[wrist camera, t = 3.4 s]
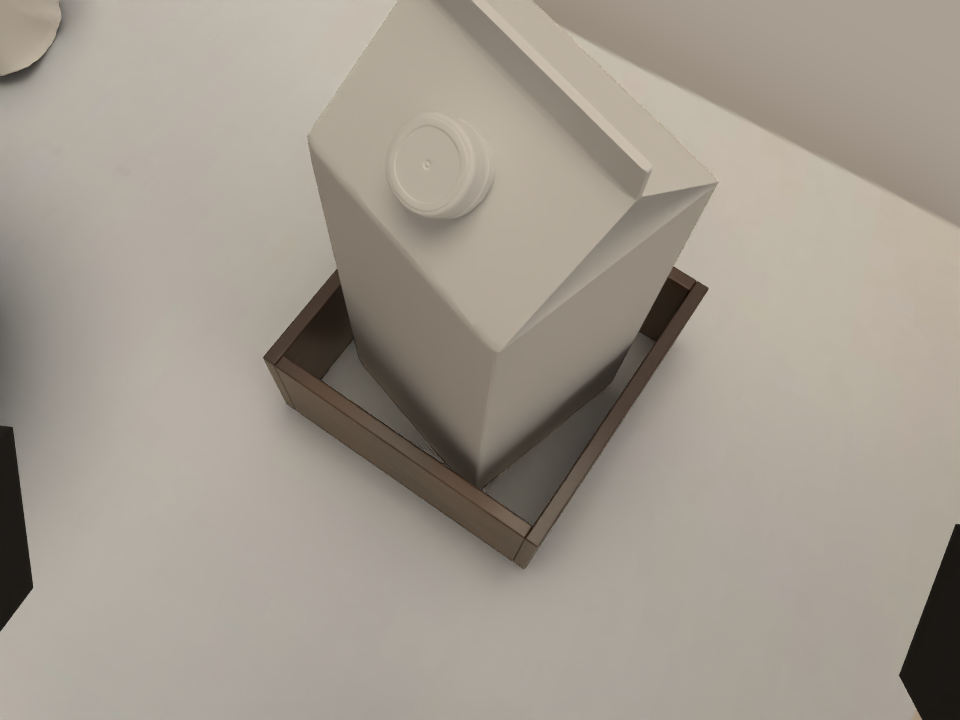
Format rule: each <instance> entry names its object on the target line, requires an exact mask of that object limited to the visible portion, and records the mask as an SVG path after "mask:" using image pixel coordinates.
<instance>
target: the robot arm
mask: <svg viewBox="0 0 960 720" xmlns="http://www.w3.org/2000/svg"><path fill="white" fill-rule="evenodd" d="M32 589H33V582H32V574H31V566H30V558H29V551H28V543H27V535H26V527H25V519H24V512H23V504H22V496H21V488H20V480H19V472H18V465H17V457H16V449H15V441H14V433H13V427H8V426H0V631H1V630H2V629H3V627H4V626H5V625H6V623H7V622H8V621H9V619H10V618H11V617H12V615H13V614H14V613H15V611H16V610H17V609H18V607H19V606H20V605H21V603H22V602H23V601H24V599H25V598H26V597H27V595H28V594H29V593H30V591H31V590H32ZM899 676H900V678H901V680H902V682H903V684H904V686H905V688H906V690H907V692H908V694H909V695H910V697H911V699H912V701H913V703H914V705H915V707H916V709H917V711H918V713H919V714H920V716H921V718H922V720H960V524H956V525H955V527H954V530H953V533H952V535H951V538H950V541H949V543H948V546H947V549H946V551H945V554H944V557H943V559H942V562H941V565H940V567H939V570H938V573H937V575H936V578H935V581H934V583H933V586H932V589H931V591H930V594H929V597H928V599H927V602H926V605H925V607H924V610H923V613H922V615H921V618H920V621H919V623H918V626H917V629H916V632H915V634H914V637H913V640H912V642H911V645H910V648H909V650H908V653H907V656H906V658H905V661H904V664H903V666H902V669H901V672H900V674H899Z"/></svg>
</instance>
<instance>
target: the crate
mask: <svg viewBox="0 0 960 720" xmlns="http://www.w3.org/2000/svg"><path fill="white" fill-rule="evenodd" d="M708 289H709V288H708V287H706V286H705V285H703V284H701V283H700V282H698V281H697V282H696V280H695V279H693V278H691V277H690V276H688V275H687V274H685V273H683V272H682V271H680V270H678V269H677V268H675V267H673V268H672V270H671V272H670V273H669V275H668V277H667V279H666V281H665V283H664V285H663V287H662V288H661V290H660V292H659V294H658V296H657V298H656V300H655V302H654V303H653V305H652V307H651V309H650V311H649V313H648V315H647V317H646V318H645V320H644V322H643V324H642V326H641V328H640V330H639V331H641V332H642V333H644V334H646V335H647V336H649V337H650V338H652V339H654V340H655V341H656V343H655V344H654V346H653V347H652V349H651V350H650V352H649V353H648V355H647V356H646V358H645V359H644V361H643V362H642V364H641V365H640V367H639V368H638V370H637V371H636V373H635V374H634V376H633V377H632V379H631V380H630V382H629V383H628V385H627V386H626V388H625V389H624V391H623V392H622V394H621V395H620V397H619V398H618V400H617V401H616V403H615V404H614V406H613V407H612V409H611V410H610V412H609V413H608V415H607V416H606V418H605V419H604V421H603V422H602V424H601V425H600V427H599V428H598V430H597V431H596V433H595V434H594V436H593V437H592V439H591V440H590V442H589V443H588V445H587V446H586V448H585V449H584V451H583V452H582V454H581V455H580V457H579V458H578V460H577V461H576V463H575V464H574V466H573V467H572V469H571V470H570V472H569V473H568V475H567V476H566V478H565V479H564V481H563V482H562V484H561V485H560V487H559V488H558V490H557V491H556V493H555V494H554V496H553V497H552V499H551V500H550V502H549V503H548V505H547V506H546V508H545V509H544V511H543V512H542V514H541V515H540V517H539V518H538V520H537V521H536V523H535V524H534V526H533V527H532V525H531V524H529V523H528V522H526V521H525V520H523V519H522V518H521V517H519V516H518V515H516V514H515V513H513V512H512V511H510V510H509V509H507V508H506V507H505V506H503V505H502V504H500V503H499V502H497V501H496V500H494V499H493V498H491V497H490V496H489V495H487V494H486V493H484V492H483V491H481V490H480V489H478V488H477V487H475V486H474V485H472V484H471V483H470V482H468V481H467V480H465V479H464V478H462V477H461V476H459V475H458V474H456V473H455V472H454V471H452V470H451V469H449V468H448V467H446V466H445V465H443V464H442V463H440V462H439V461H438V460H436V459H435V458H433V457H432V456H430V455H429V454H427V453H426V452H424V451H423V450H422V449H420V448H419V447H417V446H416V445H414V444H413V443H411V442H410V441H408V440H407V439H406V438H404V437H403V436H401V435H400V434H398V433H397V432H395V431H394V430H392V429H391V428H389V427H388V426H387V425H385V424H384V423H382V422H381V421H379V420H378V419H376V418H375V417H373V416H372V415H371V414H369V413H368V412H366V411H365V410H363V409H362V408H360V407H359V406H357V405H356V404H355V403H353V402H352V401H350V400H349V399H347V398H346V397H344V396H343V395H341V394H340V393H339V392H337V391H336V390H334V389H333V388H331V387H330V386H328V385H327V384H325V383H324V382H323V381H321V380H320V379H321V378H322V377H323V375H324V374H325V373H326V372H327V370H328V369H329V368H330V367H331V366H332V364H333V363H334V362H335V361H336V359H337V358H338V357H339V356H340V354H341V353H342V352H343V351H344V349H345V348H346V347H347V346H348V344H349V343H350V342H351V341H352V339H353V338H354V336H353V332H352V328H351V324H350V320H349V316H348V311H347V307H346V303H345V299H344V295H343V291H342V286H341V282H340V278H339V274H338V270H337V269H336V271H335V272H334V273H333V274H332V275H331V277H330V278H329V279H328V280H327V281H326V283H325V284H324V285H323V286H322V287H321V289H320V290H319V291H318V292H317V293H316V295H315V296H314V297H313V298H312V299H311V301H310V302H309V303H308V304H307V305H306V307H305V308H304V309H303V310H302V311H301V313H300V314H299V315H298V316H297V317H296V318H295V320H294V321H293V322H292V323H291V324H290V326H289V327H288V328H287V329H286V330H285V332H284V333H283V334H282V335H281V336H280V338H279V339H278V340H277V341H276V342H275V344H274V345H273V346H272V347H271V348H270V350H269V351H268V352H267V353H266V354H265V356H264V357H263V359H264V361H265V363H266V365H267V367H268V369H269V370H270V372H271V374H272V376H273V378H274V380H275V382H276V384H277V386H278V388H279V390H280V392H281V394H282V396H283V398H284V400H285V402H286V403H287V404H288V405H289V406H291V407H292V408H294V409H296V410H297V411H298V412H299V413H301V414H302V415H304V416H305V417H306V418H308V419H309V420H311V421H312V422H314V423H315V424H316V425H318V426H319V427H321V428H322V429H324V430H325V431H327V432H328V433H329V434H331V435H332V436H334V437H335V438H337V439H338V440H339V441H341V442H342V443H344V444H345V445H347V446H348V447H349V448H351V449H352V450H354V451H355V452H357V453H358V454H359V455H361V456H362V457H364V458H365V459H367V460H368V461H370V462H371V463H372V464H374V465H375V466H377V467H378V468H380V469H381V470H382V471H384V472H385V473H387V474H388V475H390V476H391V477H392V478H394V479H395V480H397V481H398V482H400V483H401V484H402V485H404V486H405V487H407V488H408V489H410V490H411V491H413V492H414V493H415V494H417V495H418V496H420V497H421V498H423V499H424V500H425V501H427V502H428V503H430V504H431V505H433V506H434V507H435V508H437V509H438V510H440V511H441V512H443V513H444V514H446V515H447V516H448V517H450V518H451V519H453V520H454V521H456V522H457V523H458V524H460V525H461V526H463V527H464V528H466V529H467V530H468V531H470V532H471V533H473V534H474V535H476V536H477V537H478V538H480V539H481V540H483V541H484V542H486V543H487V544H489V545H490V546H491V547H493V548H494V549H496V550H497V551H499V552H500V553H501V554H503V555H504V556H506V557H507V558H509V559H510V560H511V561H513V560H514V563H516V564H517V565H519V566H520V567H521V568H523V569H525V568H526V566H527V565H528V563H529V562H530V560H531V559H532V557H533V555H534V554H535V552H536V551H537V549H538V548H539V546H540V545H541V543H542V542H543V540H544V539H545V537H546V536H547V534H548V533H549V531H550V530H551V528H552V527H553V525H554V524H555V522H556V521H557V519H558V518H559V516H560V515H561V513H562V512H563V510H564V509H565V507H566V505H567V504H568V502H569V501H570V499H571V498H572V496H573V495H574V493H575V492H576V490H577V489H578V487H579V486H580V484H581V483H582V481H583V480H584V478H585V477H586V475H587V474H588V472H589V471H590V469H591V468H592V466H593V465H594V463H595V462H596V460H597V458H598V457H599V455H600V454H601V452H602V451H603V449H604V448H605V446H606V445H607V443H608V442H609V440H610V439H611V437H612V436H613V434H614V433H615V431H616V430H617V428H618V427H619V425H620V424H621V422H622V421H623V419H624V418H625V416H626V415H627V413H628V411H629V410H630V408H631V407H632V405H633V404H634V402H635V401H636V399H637V398H638V396H639V395H640V393H641V392H642V390H643V389H644V387H645V386H646V384H647V383H648V381H649V380H650V378H651V377H652V375H653V374H654V372H655V371H656V369H657V368H658V366H659V364H660V363H661V361H662V360H663V358H664V357H665V355H666V354H667V352H668V351H669V349H670V348H671V346H672V345H673V343H674V342H675V340H676V339H677V337H678V336H679V334H680V333H681V331H682V329H683V328H684V326H685V325H686V323H687V322H688V320H689V319H690V317H691V316H692V314H693V313H694V311H695V309H696V308H697V306H698V305H699V303H700V302H701V300H702V299H703V297H704V296H705V294H706V292H707V291H708Z"/></svg>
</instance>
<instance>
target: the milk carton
mask: <svg viewBox="0 0 960 720" xmlns="http://www.w3.org/2000/svg"><path fill="white" fill-rule="evenodd" d="M307 137H308V144H309V150H310V156H311V161H312V165H313V170H314V174H315V178H316V182H317V186H318V191H319V195H320V199H321V203H322V207H323V211H324V216H325V220H326V224H327V228H328V232H329V236H330V241H331V245H332V249H333V253H334V257H335V261H336V266H337V270H338V274H339V278H340V282H341V286H342V291H343V295H344V299H345V303H346V307H347V311H348V316H349V320H350V324H351V328H352V332H353V336H354V341H355V345H356V349H357V353H358V357H359V359H360V360H361V362H362V363H363V365H364V366H365V367H366V368H367V370H368V371H369V372H370V373H371V374H372V376H373V377H374V378H375V379H376V380H377V382H378V383H379V384H380V385H381V386H382V388H383V389H384V390H385V391H386V392H387V394H388V395H389V396H390V397H391V398H392V400H393V401H394V402H395V403H396V404H397V406H398V407H399V408H400V409H401V410H402V411H403V413H404V414H405V415H406V416H407V417H408V419H409V420H410V421H411V422H412V423H413V425H414V426H415V427H416V428H417V429H418V431H419V432H420V433H421V434H422V435H423V437H424V438H425V439H426V440H427V441H428V443H429V444H430V445H431V446H432V447H433V448H434V450H435V451H436V452H437V453H438V454H439V456H440V457H441V458H442V459H443V460H444V462H445V463H446V464H447V465H448V466H449V468H450V469H451V470H452V471H454V472H455V473H456V474H458V475H459V476H461V477H462V478H464V479H465V480H467V481H468V482H470V483H471V484H472V485H474V486H475V487H477V488H478V489H482V488H483V487H484V486H485V485H486V484H488V483H489V482H490V481H491V480H493V479H494V478H495V477H496V476H497V475H499V474H500V473H501V472H502V471H504V470H505V469H506V468H507V467H508V466H510V465H511V464H512V463H513V462H515V461H516V460H517V459H518V458H519V457H521V456H522V455H523V454H524V453H526V452H527V451H528V450H529V449H530V448H532V447H533V446H534V445H535V444H537V443H538V442H539V441H540V440H541V439H543V438H544V437H545V436H546V435H548V434H549V433H550V432H551V431H552V430H554V429H555V428H556V427H557V426H559V425H560V424H561V423H562V422H563V421H565V420H566V419H567V418H568V417H570V416H571V415H572V414H573V413H574V412H576V411H577V410H578V409H579V408H581V407H582V406H583V405H584V404H585V403H587V402H588V401H589V400H590V399H592V398H593V397H594V396H595V395H596V394H598V393H599V392H600V391H601V390H603V389H604V388H605V387H606V386H607V385H609V384H610V383H611V382H612V380H613V378H614V377H615V375H616V373H617V371H618V369H619V367H620V365H621V363H622V362H623V360H624V358H625V356H626V354H627V352H628V350H629V348H630V347H631V345H632V343H633V341H634V339H635V337H636V335H637V333H638V332H639V330H640V328H641V326H642V324H643V322H644V320H645V318H646V317H647V315H648V313H649V311H650V309H651V307H652V305H653V303H654V302H655V300H656V298H657V296H658V294H659V292H660V290H661V288H662V287H663V285H664V283H665V281H666V279H667V277H668V275H669V273H670V272H671V270H672V268H673V266H674V264H675V262H676V260H677V258H678V257H679V255H680V253H681V251H682V249H683V247H684V245H685V243H686V242H687V240H688V238H689V236H690V234H691V232H692V230H693V228H694V227H695V225H696V223H697V221H698V219H699V217H700V215H701V213H702V212H703V210H704V208H705V206H706V204H707V202H708V200H709V198H710V197H711V195H712V193H713V191H714V189H715V187H716V185H717V184H718V183H719V181H718V180H717V179H716V178H715V177H714V176H713V175H712V174H711V173H710V172H709V171H708V170H707V169H706V168H705V167H704V166H703V165H702V164H701V163H700V162H699V161H698V160H697V159H696V158H695V157H694V156H693V155H692V154H691V153H690V152H689V151H688V150H687V149H686V148H685V147H684V146H683V145H682V144H681V143H680V142H679V141H678V140H676V139H675V138H674V137H673V136H672V135H671V134H670V133H669V132H668V131H667V130H666V129H665V128H664V127H663V126H662V125H661V124H660V123H659V122H658V121H657V120H656V119H655V118H654V117H653V116H652V115H651V114H650V113H648V112H647V111H646V110H645V109H644V108H643V107H642V106H641V105H640V104H639V103H638V102H637V101H636V100H635V99H634V98H633V97H632V96H631V95H630V94H629V93H628V92H627V91H626V90H625V89H624V88H623V87H622V86H621V85H619V84H618V83H617V82H616V81H615V80H614V79H613V78H612V77H611V76H610V75H609V74H608V73H607V72H606V71H605V70H604V69H603V68H602V67H601V66H600V65H599V64H598V63H597V62H596V61H595V60H594V59H593V58H591V57H590V56H589V55H588V54H587V53H586V52H585V51H584V50H583V49H582V48H581V47H580V46H579V45H578V44H577V43H576V42H575V41H574V40H573V39H572V38H571V37H570V36H569V35H568V34H567V33H566V32H565V31H563V30H562V29H561V28H560V27H559V26H558V25H557V24H556V23H555V22H554V21H553V20H552V19H551V18H550V17H549V16H548V15H547V14H546V13H545V12H543V10H542V9H540V8H539V7H538V6H537V5H536V4H535V3H534V2H533V1H532V0H399V1H398V2H397V4H396V5H395V7H394V8H393V10H392V11H391V13H390V14H389V15H388V17H387V18H386V20H385V21H384V23H383V24H382V26H381V27H380V29H379V30H378V32H377V33H376V35H375V36H374V38H373V39H372V41H371V42H370V44H369V45H368V46H367V48H366V49H365V51H364V52H363V54H362V55H361V57H360V58H359V60H358V61H357V63H356V64H355V66H354V67H353V69H352V70H351V72H350V73H349V74H348V76H347V77H346V79H345V80H344V82H343V83H342V85H341V86H340V88H339V89H338V91H337V92H336V94H335V95H334V97H333V98H332V100H331V101H330V103H329V104H328V105H327V107H326V108H325V110H324V111H323V113H322V114H321V116H320V117H319V119H318V120H317V122H316V123H315V125H314V126H313V128H312V129H311V131H310V133H309V134H308V136H307Z"/></svg>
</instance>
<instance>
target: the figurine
mask: <svg viewBox="0 0 960 720" xmlns="http://www.w3.org/2000/svg"><path fill="white" fill-rule="evenodd" d="M60 21H61V10H60V6H59V0H0V76H4V75H6V74H8V73H12V72H16V71H18V70H20V69H23V68H26V67H29V66H30V64H31V63H33V62H35V61H37V60H38V59H39V58H40V57H41V56H42V55H43V54H44V53H45V52H46V51H47V49H48V47H49V46H50V45H51V44H52V43H53V40H54V38H55V37H56V31H57V29H58V27H59V22H60Z"/></svg>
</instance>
